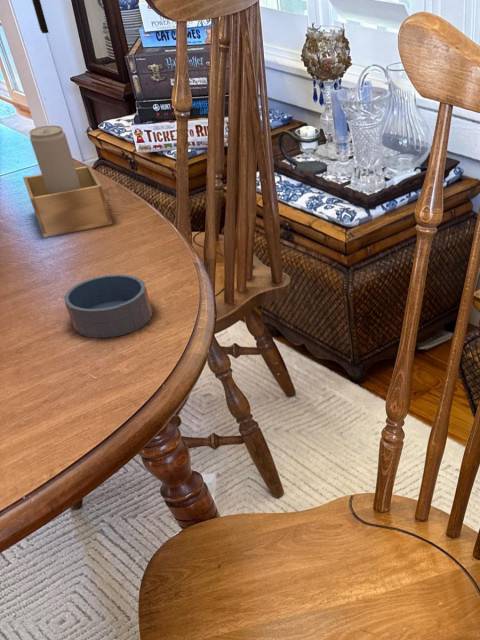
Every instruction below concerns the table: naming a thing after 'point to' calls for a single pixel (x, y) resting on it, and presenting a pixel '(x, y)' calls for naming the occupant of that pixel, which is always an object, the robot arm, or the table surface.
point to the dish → (108, 306)
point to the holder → (69, 204)
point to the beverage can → (54, 159)
